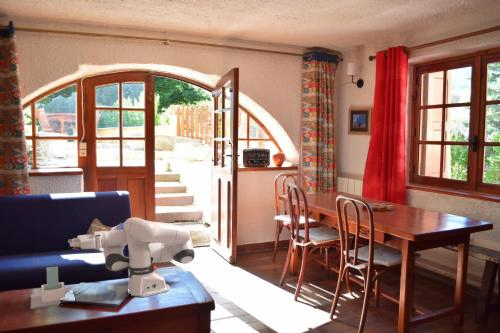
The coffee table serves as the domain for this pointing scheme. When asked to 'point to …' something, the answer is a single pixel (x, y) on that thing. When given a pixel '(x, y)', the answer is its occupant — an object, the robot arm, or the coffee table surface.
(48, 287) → the teal block
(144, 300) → the coffee table surface
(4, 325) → the coffee table surface
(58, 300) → the white block stand
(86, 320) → the coffee table surface
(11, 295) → the coffee table surface
